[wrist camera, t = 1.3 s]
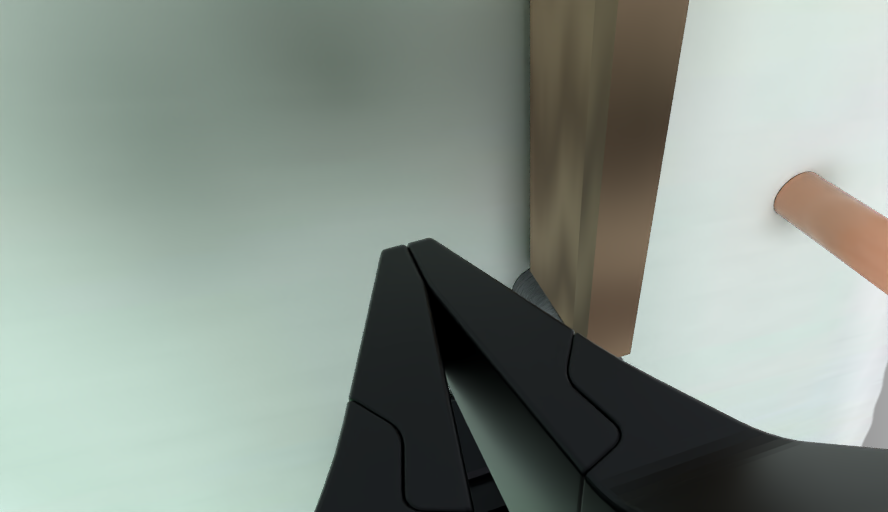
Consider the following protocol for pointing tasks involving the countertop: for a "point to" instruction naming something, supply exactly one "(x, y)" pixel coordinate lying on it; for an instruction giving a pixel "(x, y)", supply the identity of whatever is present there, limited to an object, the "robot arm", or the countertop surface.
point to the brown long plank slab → (598, 153)
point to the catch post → (838, 224)
